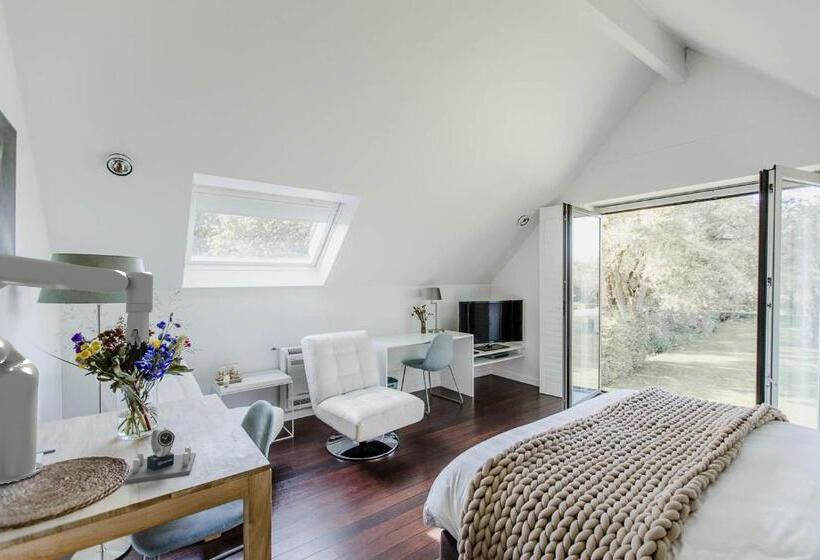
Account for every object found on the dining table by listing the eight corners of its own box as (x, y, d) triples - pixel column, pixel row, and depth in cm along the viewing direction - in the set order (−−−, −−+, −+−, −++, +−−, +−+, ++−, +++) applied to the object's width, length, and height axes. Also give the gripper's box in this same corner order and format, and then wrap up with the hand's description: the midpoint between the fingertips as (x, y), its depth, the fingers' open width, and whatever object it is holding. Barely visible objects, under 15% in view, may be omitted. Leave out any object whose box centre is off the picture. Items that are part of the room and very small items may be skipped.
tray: (124, 483, 114) (125, 467, 114) (137, 463, 127) (137, 448, 127) (189, 474, 120) (190, 458, 120) (195, 455, 133) (195, 441, 133)
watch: (157, 472, 118) (158, 434, 118) (144, 466, 123) (144, 429, 123) (177, 465, 123) (178, 428, 123) (163, 459, 127) (164, 423, 127)
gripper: (133, 307, 145) (132, 355, 145) (118, 309, 129) (117, 364, 129) (157, 307, 148) (156, 354, 148) (146, 309, 132) (145, 362, 132)
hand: (138, 359), depth 138 cm, fingers open, 9 cm apart
